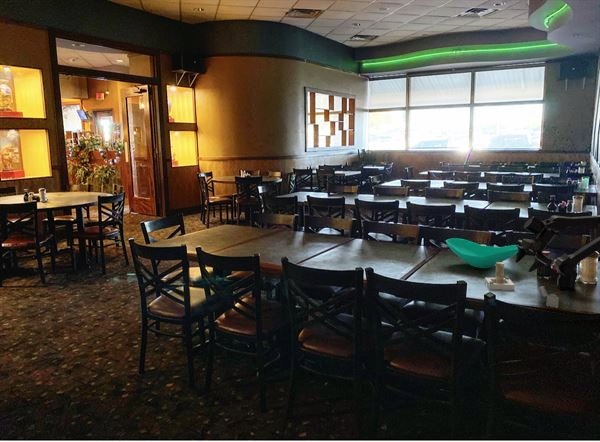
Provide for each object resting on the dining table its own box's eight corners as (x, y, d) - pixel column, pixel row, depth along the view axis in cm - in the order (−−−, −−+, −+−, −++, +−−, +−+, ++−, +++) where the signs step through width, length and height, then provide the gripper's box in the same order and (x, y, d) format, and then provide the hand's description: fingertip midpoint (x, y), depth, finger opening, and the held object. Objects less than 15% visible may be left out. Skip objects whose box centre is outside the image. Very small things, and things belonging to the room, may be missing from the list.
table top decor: (436, 266, 260) (436, 243, 258) (456, 256, 281) (457, 235, 278) (511, 278, 234) (512, 253, 232) (526, 266, 255) (528, 242, 253)
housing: (508, 283, 227) (508, 276, 227) (514, 290, 217) (514, 283, 216) (484, 282, 229) (485, 275, 229) (489, 289, 219) (489, 282, 218)
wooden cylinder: (501, 285, 224) (502, 262, 222) (503, 287, 221) (504, 263, 219) (495, 285, 225) (496, 262, 223) (496, 287, 222) (497, 263, 220)
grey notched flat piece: (558, 306, 194) (559, 288, 193) (557, 308, 193) (558, 289, 191) (539, 303, 199) (540, 285, 198) (538, 304, 198) (539, 286, 196)
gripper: (518, 225, 221) (499, 251, 225) (546, 242, 204) (524, 270, 208) (533, 233, 225) (514, 260, 229) (562, 251, 209) (540, 279, 212)
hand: (522, 267), depth 219 cm, fingers open, 9 cm apart
